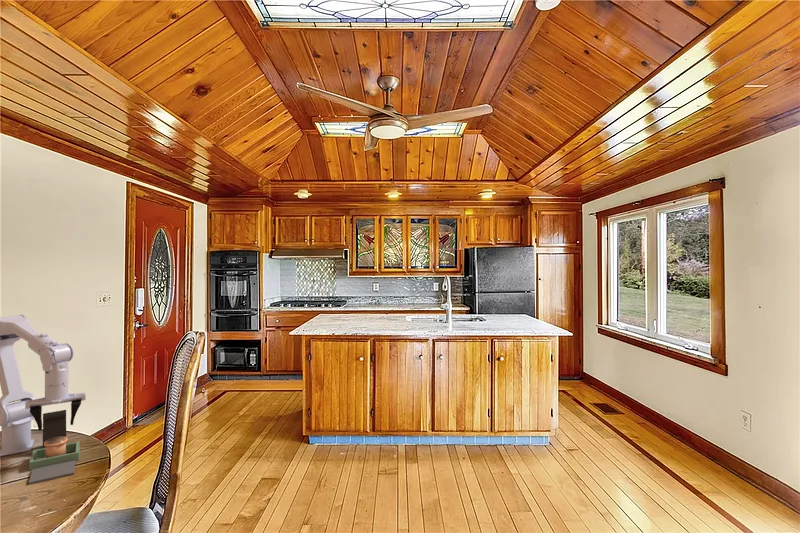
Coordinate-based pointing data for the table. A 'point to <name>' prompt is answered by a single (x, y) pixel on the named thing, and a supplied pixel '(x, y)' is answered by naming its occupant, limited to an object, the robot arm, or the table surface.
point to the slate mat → (52, 472)
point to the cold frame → (54, 460)
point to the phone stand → (54, 425)
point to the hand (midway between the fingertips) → (56, 426)
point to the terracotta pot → (55, 446)
